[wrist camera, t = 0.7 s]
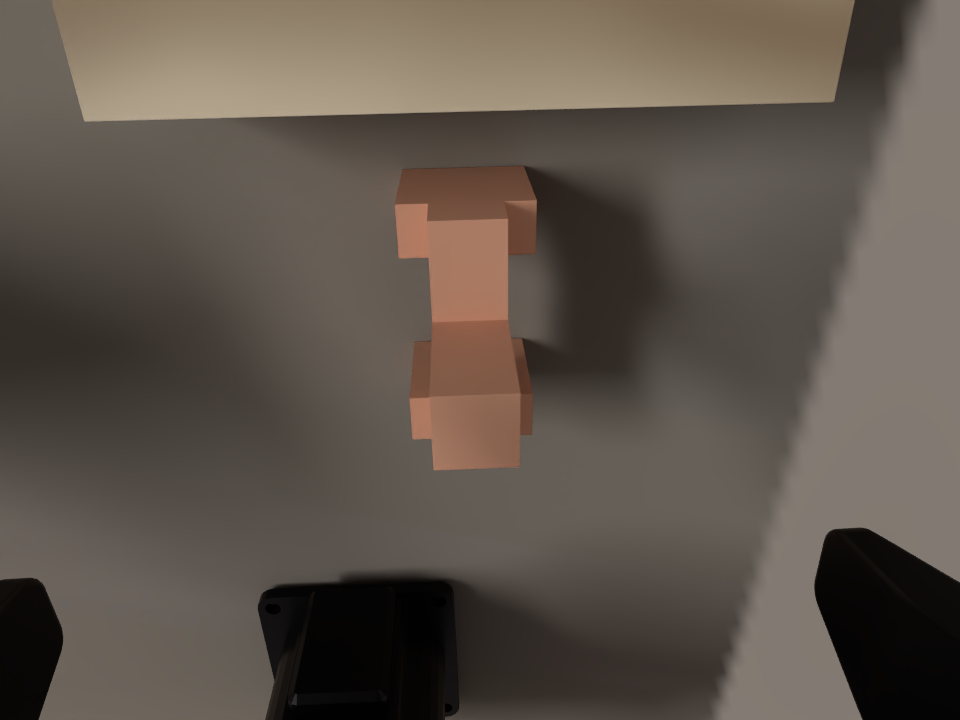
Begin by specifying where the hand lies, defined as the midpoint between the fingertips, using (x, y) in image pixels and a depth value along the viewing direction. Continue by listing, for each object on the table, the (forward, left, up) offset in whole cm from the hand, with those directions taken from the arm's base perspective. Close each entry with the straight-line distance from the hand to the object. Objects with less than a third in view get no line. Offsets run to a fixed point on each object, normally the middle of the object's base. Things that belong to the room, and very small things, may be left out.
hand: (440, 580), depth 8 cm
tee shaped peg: (-1, -1, -12) cm, 12 cm away
